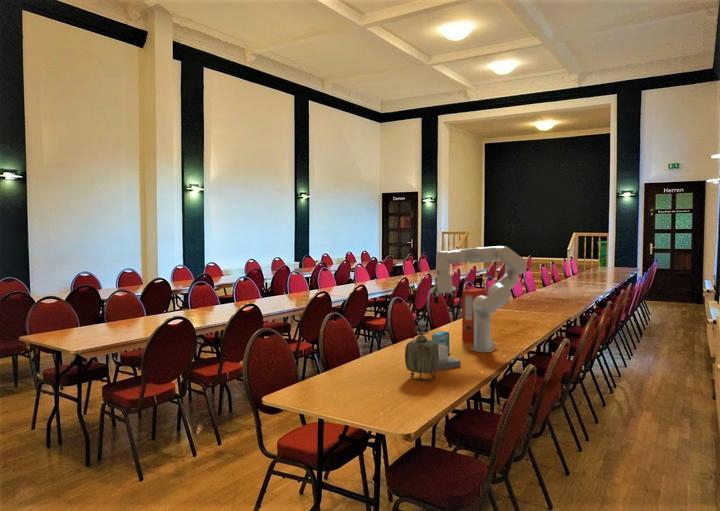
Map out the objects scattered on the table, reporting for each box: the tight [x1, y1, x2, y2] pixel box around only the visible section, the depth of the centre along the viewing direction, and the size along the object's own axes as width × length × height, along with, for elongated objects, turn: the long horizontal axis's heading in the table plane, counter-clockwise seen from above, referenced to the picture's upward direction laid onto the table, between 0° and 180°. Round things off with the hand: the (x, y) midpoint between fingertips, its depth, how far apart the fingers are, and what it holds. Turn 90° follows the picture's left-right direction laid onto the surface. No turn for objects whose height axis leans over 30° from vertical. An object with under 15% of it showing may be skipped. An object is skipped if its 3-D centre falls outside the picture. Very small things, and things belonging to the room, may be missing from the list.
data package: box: [431, 330, 450, 352], centre depth 295 cm, size 12×4×12 cm, turn 140°
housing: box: [437, 343, 449, 361], centre depth 271 cm, size 9×5×8 cm, turn 29°
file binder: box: [461, 287, 487, 344], centre depth 329 cm, size 8×17×32 cm, turn 142°
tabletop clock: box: [404, 325, 439, 381], centre depth 246 cm, size 14×9×25 cm, turn 66°
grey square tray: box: [434, 356, 461, 371], centre depth 271 cm, size 16×16×3 cm
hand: (443, 302), depth 298 cm, fingers open, 9 cm apart
